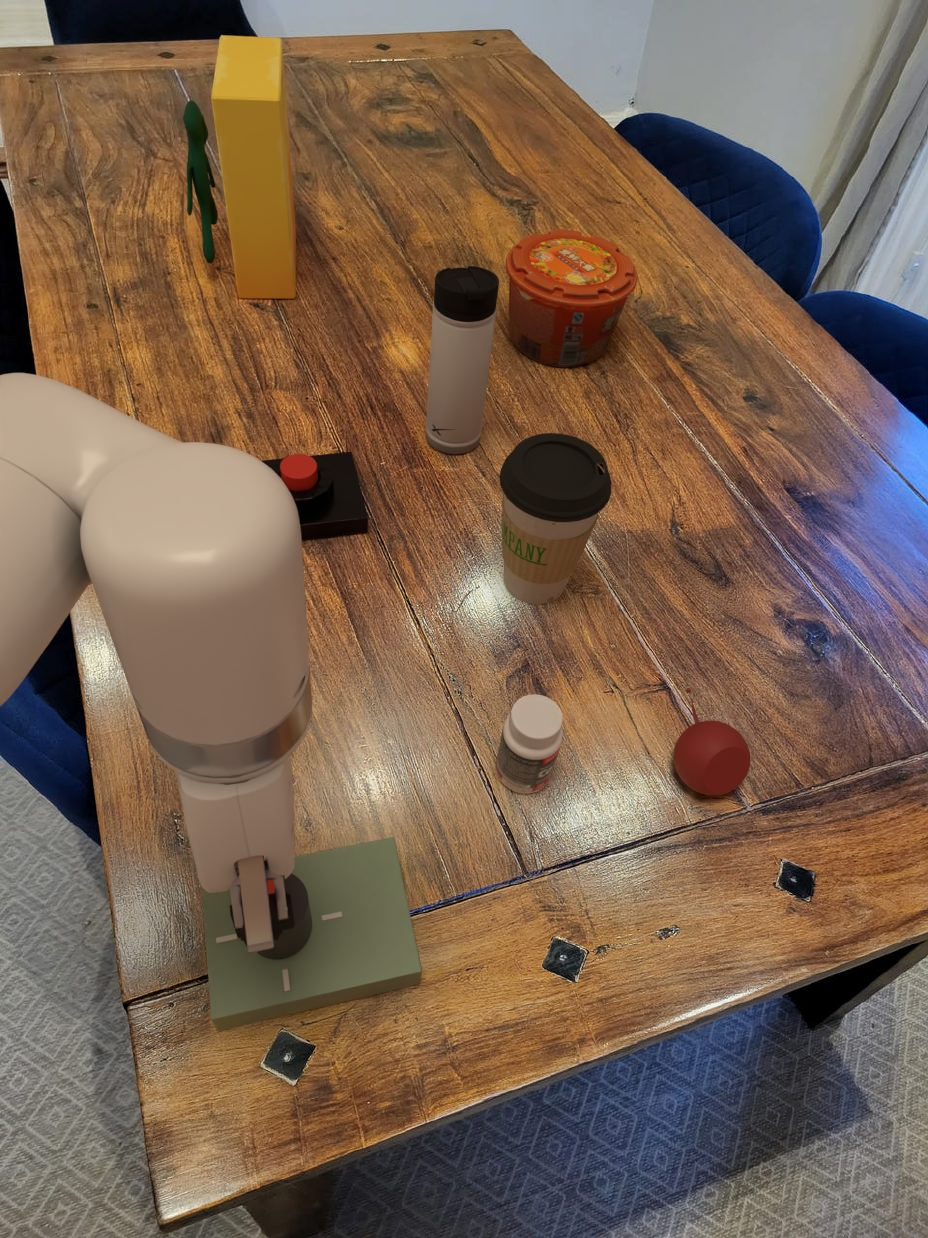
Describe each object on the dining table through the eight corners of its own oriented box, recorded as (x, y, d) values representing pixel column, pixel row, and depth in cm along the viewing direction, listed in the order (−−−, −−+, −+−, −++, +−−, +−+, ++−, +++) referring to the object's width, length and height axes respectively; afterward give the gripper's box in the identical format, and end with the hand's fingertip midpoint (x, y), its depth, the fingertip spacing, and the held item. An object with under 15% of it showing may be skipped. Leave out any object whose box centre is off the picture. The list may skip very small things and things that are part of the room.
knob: (315, 953, 60) (311, 927, 56) (250, 966, 59) (241, 941, 55) (308, 891, 62) (303, 862, 58) (245, 903, 61) (236, 874, 57)
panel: (217, 1031, 59) (210, 1019, 56) (207, 890, 65) (201, 873, 62) (420, 984, 62) (422, 970, 59) (393, 853, 68) (394, 835, 65)
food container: (640, 334, 115) (661, 256, 106) (582, 393, 106) (600, 313, 97) (536, 289, 119) (549, 212, 111) (472, 342, 110) (480, 263, 102)
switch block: (247, 547, 86) (242, 518, 83) (238, 478, 92) (233, 449, 89) (368, 533, 89) (367, 504, 85) (352, 466, 94) (351, 437, 91)
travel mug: (434, 460, 96) (445, 295, 80) (419, 422, 100) (427, 257, 84) (488, 453, 98) (510, 290, 82) (471, 416, 101) (489, 253, 86)
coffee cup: (486, 539, 89) (502, 423, 78) (581, 547, 90) (612, 432, 78) (483, 614, 83) (501, 500, 71) (586, 623, 84) (620, 510, 72)
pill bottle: (542, 802, 71) (559, 751, 65) (487, 784, 72) (498, 731, 66) (557, 755, 74) (575, 701, 68) (504, 737, 75) (517, 682, 68)
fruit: (717, 758, 78) (719, 678, 75) (757, 791, 73) (761, 707, 70) (657, 776, 76) (656, 695, 73) (693, 812, 71) (694, 726, 68)
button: (283, 493, 86) (282, 480, 85) (279, 468, 88) (278, 455, 87) (320, 489, 87) (319, 476, 85) (315, 465, 89) (314, 451, 87)
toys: (206, 228, 122) (175, 32, 103) (296, 230, 124) (281, 37, 105) (197, 298, 112) (161, 94, 93) (295, 299, 113) (280, 98, 94)
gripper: (136, 559, 44) (187, 735, 57) (142, 895, 33) (202, 1012, 47) (289, 544, 45) (303, 718, 59) (338, 859, 35) (341, 982, 48)
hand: (258, 849), depth 53 cm, fingers open, 9 cm apart
